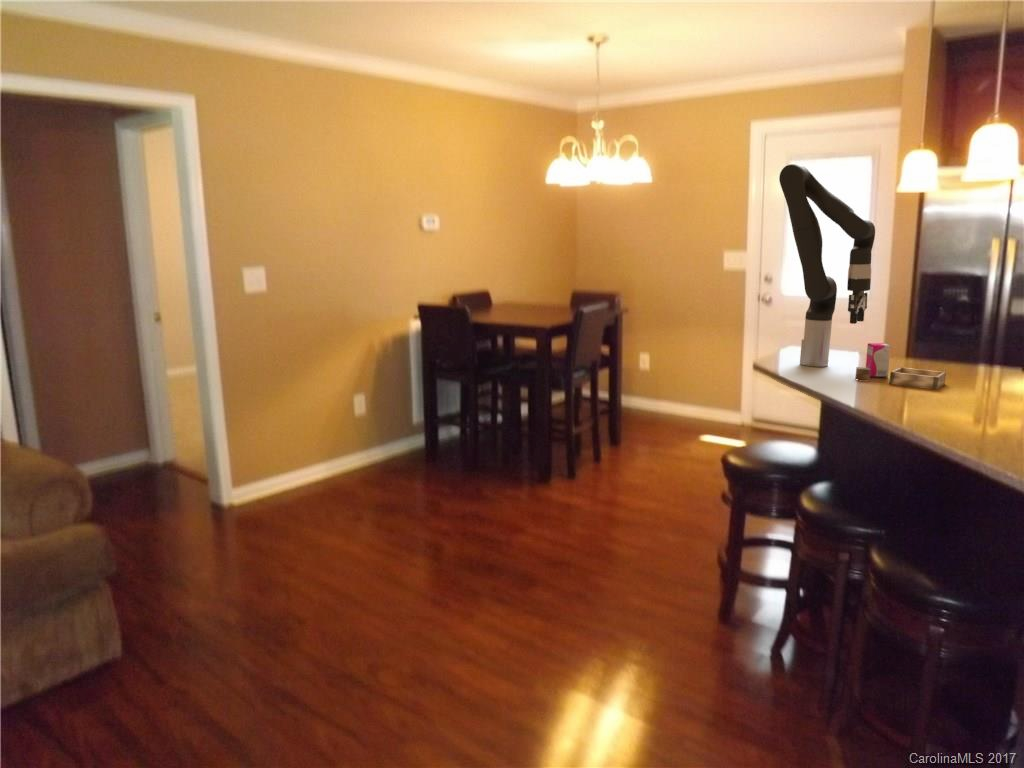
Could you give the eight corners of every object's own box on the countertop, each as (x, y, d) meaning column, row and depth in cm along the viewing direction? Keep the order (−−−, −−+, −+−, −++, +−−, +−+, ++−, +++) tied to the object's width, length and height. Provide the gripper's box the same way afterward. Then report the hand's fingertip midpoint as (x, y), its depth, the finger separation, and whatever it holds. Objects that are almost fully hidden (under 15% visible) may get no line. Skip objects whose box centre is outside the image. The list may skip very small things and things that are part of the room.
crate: (889, 383, 249) (890, 372, 248) (898, 378, 258) (899, 367, 257) (936, 389, 240) (938, 377, 239) (944, 384, 249) (946, 372, 248)
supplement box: (881, 375, 264) (884, 342, 262) (887, 378, 258) (891, 345, 256) (864, 374, 265) (867, 342, 262) (870, 378, 259) (873, 345, 256)
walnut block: (856, 380, 255) (857, 368, 254) (855, 378, 258) (856, 367, 258) (869, 381, 253) (870, 369, 253) (868, 379, 257) (869, 367, 256)
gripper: (854, 276, 276) (851, 320, 279) (842, 278, 265) (839, 323, 268) (876, 276, 271) (873, 321, 274) (864, 278, 261) (861, 324, 263)
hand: (856, 322), depth 271 cm, fingers open, 8 cm apart
